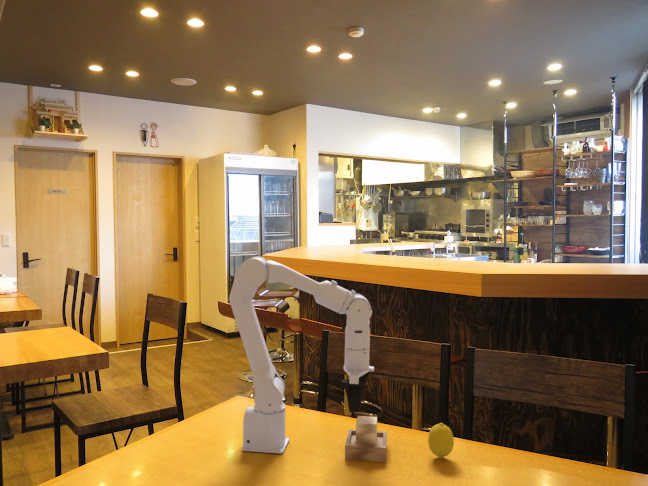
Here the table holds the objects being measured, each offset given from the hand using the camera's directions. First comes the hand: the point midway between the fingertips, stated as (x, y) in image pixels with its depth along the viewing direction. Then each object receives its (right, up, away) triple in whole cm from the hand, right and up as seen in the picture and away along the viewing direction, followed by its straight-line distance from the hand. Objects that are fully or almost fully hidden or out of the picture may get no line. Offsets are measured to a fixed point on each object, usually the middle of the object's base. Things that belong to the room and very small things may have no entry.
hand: (355, 405), depth 121 cm
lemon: (+19, -10, -5) cm, 22 cm away
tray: (+2, -10, -2) cm, 10 cm away
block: (+2, -8, -2) cm, 8 cm away
